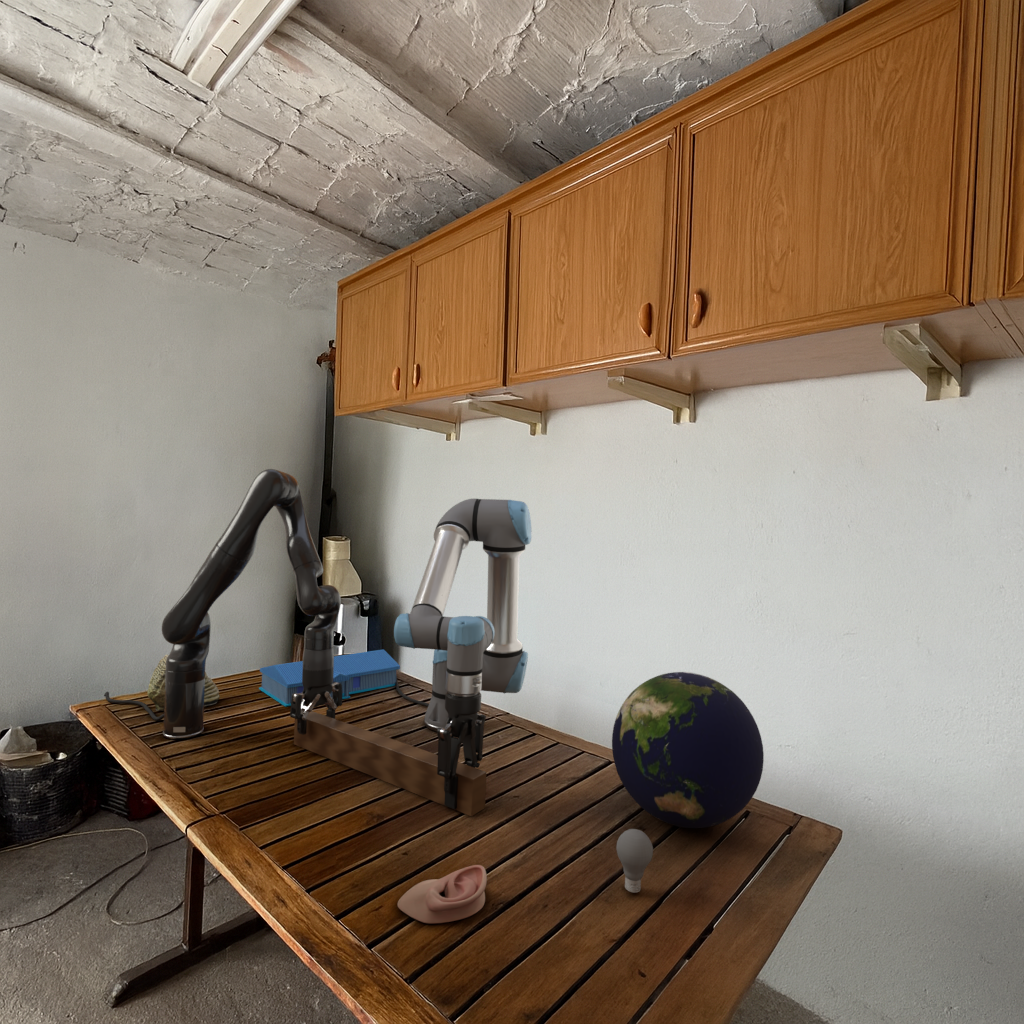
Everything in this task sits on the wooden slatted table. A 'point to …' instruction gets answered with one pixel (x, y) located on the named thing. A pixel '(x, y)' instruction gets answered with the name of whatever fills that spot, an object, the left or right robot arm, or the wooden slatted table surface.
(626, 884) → the light bulb
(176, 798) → the wooden slatted table surface
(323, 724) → the beam
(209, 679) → the fossil
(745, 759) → the globe
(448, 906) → the anatomical model
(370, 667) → the model building
